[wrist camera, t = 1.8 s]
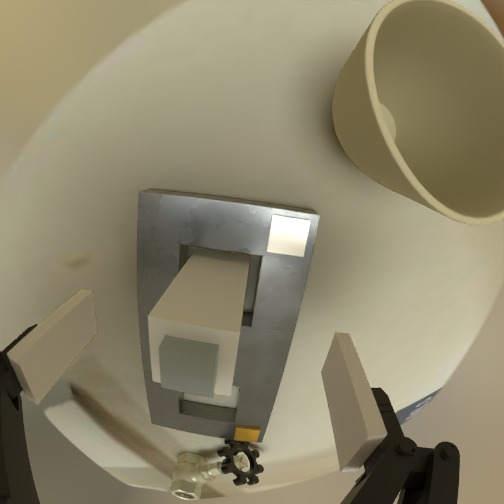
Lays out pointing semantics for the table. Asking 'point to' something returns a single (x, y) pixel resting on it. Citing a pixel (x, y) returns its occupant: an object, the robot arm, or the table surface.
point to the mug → (427, 108)
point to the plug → (200, 324)
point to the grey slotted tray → (253, 324)
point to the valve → (214, 469)
